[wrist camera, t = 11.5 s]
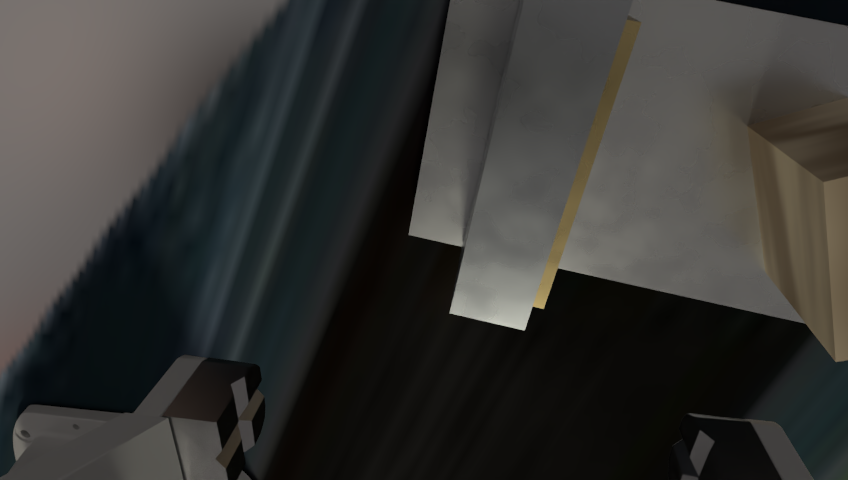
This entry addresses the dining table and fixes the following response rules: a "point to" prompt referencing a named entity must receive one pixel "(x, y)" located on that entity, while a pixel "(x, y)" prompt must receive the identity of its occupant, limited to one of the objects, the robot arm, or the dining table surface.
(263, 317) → the dining table surface
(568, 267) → the vise base
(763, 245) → the maple block
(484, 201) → the block
